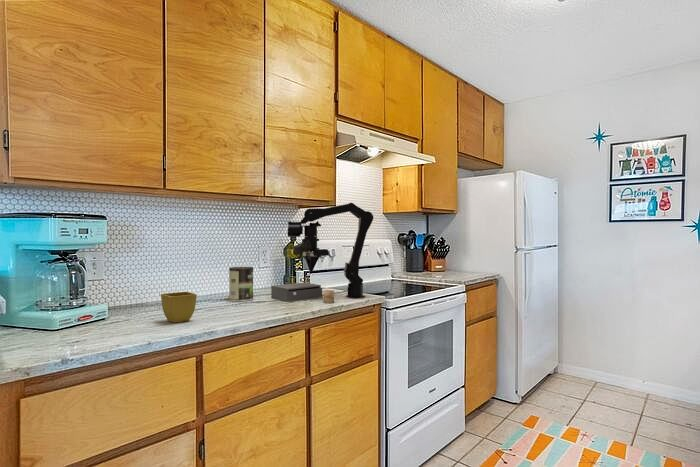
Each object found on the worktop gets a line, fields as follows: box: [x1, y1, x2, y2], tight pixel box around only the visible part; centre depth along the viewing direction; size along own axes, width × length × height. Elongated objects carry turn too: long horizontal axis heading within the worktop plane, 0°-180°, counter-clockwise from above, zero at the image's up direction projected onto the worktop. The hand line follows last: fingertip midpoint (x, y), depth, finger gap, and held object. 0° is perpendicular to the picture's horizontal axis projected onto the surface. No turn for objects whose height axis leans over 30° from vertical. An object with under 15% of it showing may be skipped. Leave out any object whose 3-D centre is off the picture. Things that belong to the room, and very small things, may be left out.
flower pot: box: [160, 291, 198, 324], centre depth 132 cm, size 9×9×9 cm
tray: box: [287, 287, 323, 301], centre depth 179 cm, size 18×13×4 cm
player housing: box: [270, 282, 323, 303], centre depth 179 cm, size 18×14×6 cm
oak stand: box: [323, 289, 335, 304], centre depth 167 cm, size 4×4×5 cm
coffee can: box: [228, 266, 254, 303], centre depth 174 cm, size 10×10×14 cm
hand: (311, 271), depth 179 cm, fingers closed
